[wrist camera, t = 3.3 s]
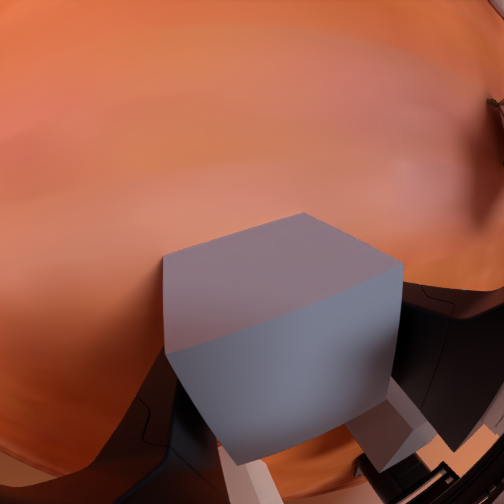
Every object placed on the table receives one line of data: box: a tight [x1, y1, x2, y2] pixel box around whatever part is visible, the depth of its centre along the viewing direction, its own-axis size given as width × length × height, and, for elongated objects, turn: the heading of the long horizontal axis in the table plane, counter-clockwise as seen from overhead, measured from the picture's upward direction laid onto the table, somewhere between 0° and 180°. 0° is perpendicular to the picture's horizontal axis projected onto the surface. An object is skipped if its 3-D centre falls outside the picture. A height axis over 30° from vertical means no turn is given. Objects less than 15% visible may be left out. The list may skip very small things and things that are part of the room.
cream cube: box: [218, 446, 283, 504], centre depth 12 cm, size 5×5×5 cm
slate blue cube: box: [163, 213, 404, 466], centre depth 8 cm, size 5×5×5 cm
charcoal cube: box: [344, 377, 437, 473], centre depth 14 cm, size 5×5×5 cm
